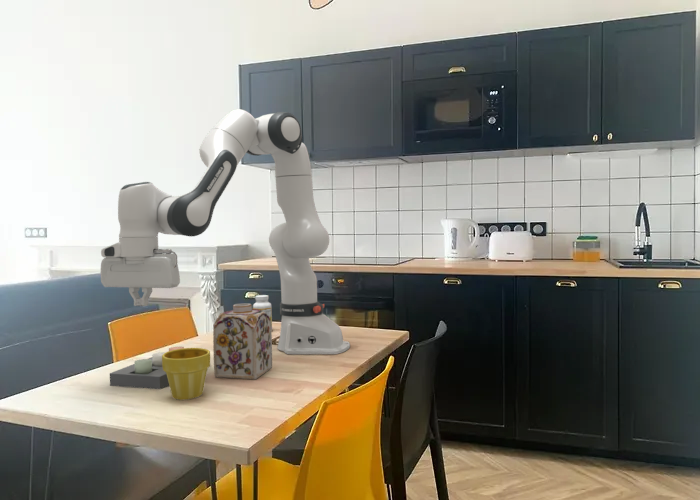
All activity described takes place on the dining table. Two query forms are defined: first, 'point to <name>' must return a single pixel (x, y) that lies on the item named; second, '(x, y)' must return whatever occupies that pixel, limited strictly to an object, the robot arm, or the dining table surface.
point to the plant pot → (186, 371)
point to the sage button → (143, 366)
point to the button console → (139, 378)
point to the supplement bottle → (263, 305)
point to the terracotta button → (175, 348)
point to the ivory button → (157, 359)
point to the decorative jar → (242, 343)
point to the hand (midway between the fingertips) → (141, 305)
